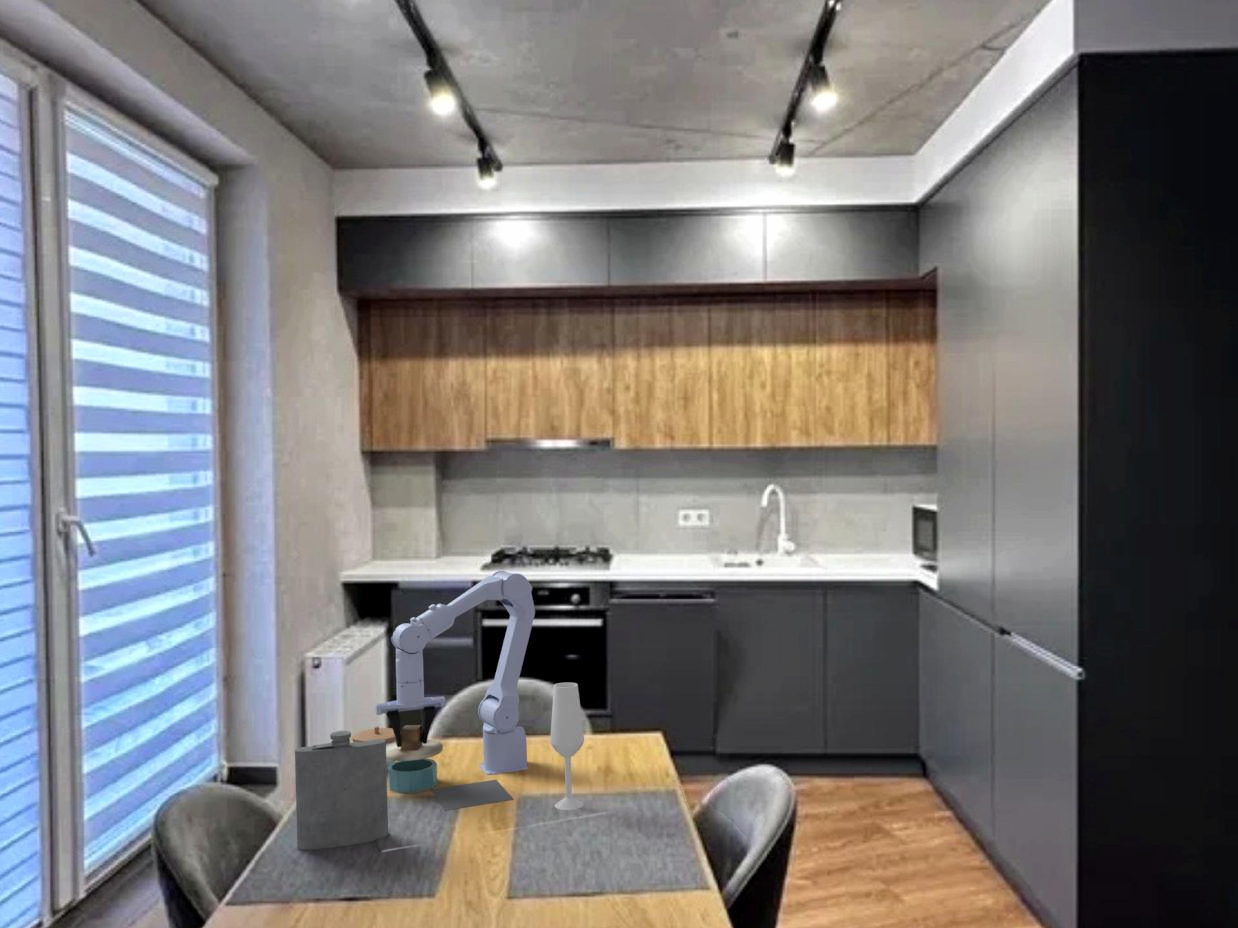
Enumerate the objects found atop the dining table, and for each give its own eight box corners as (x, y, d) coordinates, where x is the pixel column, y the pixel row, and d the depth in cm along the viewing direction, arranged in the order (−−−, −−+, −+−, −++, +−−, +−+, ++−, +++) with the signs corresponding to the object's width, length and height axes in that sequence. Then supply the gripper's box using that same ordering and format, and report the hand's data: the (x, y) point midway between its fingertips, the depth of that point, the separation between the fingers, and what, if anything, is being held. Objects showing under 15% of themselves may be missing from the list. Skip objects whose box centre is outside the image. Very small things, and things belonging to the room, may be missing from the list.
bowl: (431, 776, 209) (431, 755, 209) (440, 789, 200) (440, 768, 200) (385, 782, 205) (384, 762, 205) (392, 796, 196) (392, 775, 196)
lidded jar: (394, 774, 211) (393, 732, 211) (347, 775, 211) (346, 733, 211) (406, 760, 222) (405, 720, 222) (361, 761, 222) (360, 721, 222)
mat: (496, 781, 204) (496, 779, 204) (513, 801, 191) (513, 799, 191) (431, 790, 199) (431, 789, 199) (444, 812, 186) (444, 810, 186)
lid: (449, 742, 209) (448, 719, 209) (433, 760, 196) (433, 735, 196) (391, 743, 210) (390, 719, 210) (372, 760, 197) (371, 735, 197)
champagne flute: (592, 803, 189) (588, 682, 189) (574, 814, 183) (571, 689, 183) (563, 798, 192) (560, 680, 192) (545, 809, 186) (542, 687, 186)
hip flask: (387, 832, 176) (385, 724, 176) (389, 840, 172) (386, 730, 173) (297, 844, 172) (294, 733, 172) (296, 852, 168) (293, 739, 168)
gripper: (440, 673, 209) (441, 735, 209) (372, 680, 204) (374, 743, 204) (446, 679, 203) (448, 743, 203) (377, 686, 197) (379, 752, 197)
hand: (411, 744), depth 203 cm, fingers closed on lid, 5 cm apart
